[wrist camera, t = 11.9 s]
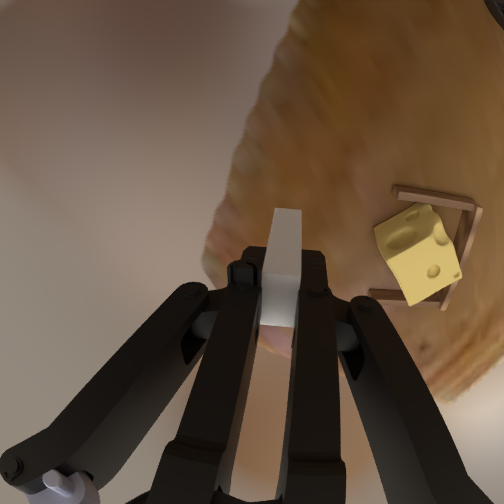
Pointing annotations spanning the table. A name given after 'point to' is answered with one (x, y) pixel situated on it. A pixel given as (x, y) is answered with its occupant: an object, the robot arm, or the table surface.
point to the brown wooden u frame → (461, 243)
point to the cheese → (418, 252)
